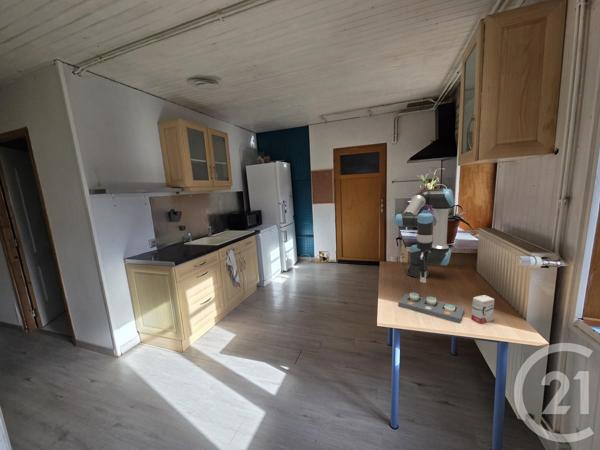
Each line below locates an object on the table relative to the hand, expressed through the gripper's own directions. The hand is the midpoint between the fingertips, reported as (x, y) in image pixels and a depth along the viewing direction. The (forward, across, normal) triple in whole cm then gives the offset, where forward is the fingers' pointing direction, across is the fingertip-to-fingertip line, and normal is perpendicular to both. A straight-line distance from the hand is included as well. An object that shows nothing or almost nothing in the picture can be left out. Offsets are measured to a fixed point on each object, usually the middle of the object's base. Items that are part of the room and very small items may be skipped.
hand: (423, 281), depth 137 cm
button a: (+12, 0, -4) cm, 13 cm away
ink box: (+14, 0, +28) cm, 31 cm away
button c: (+14, +1, +14) cm, 19 cm away
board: (+14, +3, +4) cm, 15 cm away
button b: (+12, +1, +5) cm, 13 cm away
